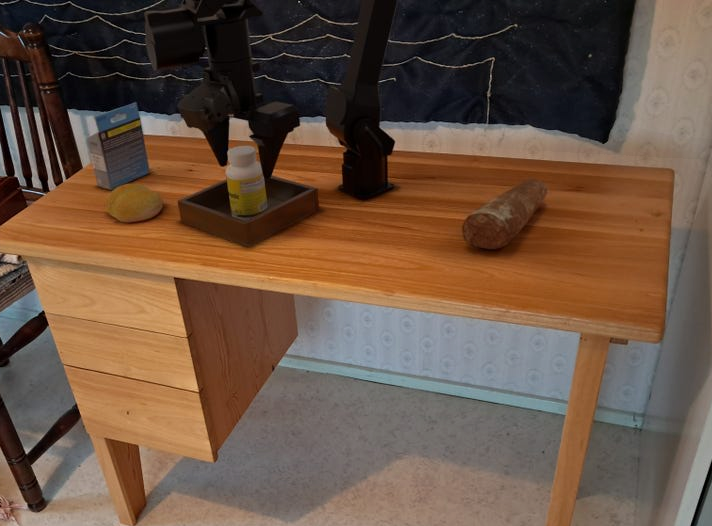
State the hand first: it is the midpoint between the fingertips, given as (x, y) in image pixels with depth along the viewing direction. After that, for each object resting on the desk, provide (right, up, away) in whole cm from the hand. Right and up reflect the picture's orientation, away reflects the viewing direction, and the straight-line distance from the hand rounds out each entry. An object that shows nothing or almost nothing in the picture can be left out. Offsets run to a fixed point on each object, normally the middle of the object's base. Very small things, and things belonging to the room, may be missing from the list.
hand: (245, 171), depth 106 cm
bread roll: (-18, -4, +9) cm, 20 cm away
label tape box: (-22, +4, +21) cm, 31 cm away
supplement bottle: (0, -6, +4) cm, 7 cm away
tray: (0, -6, +4) cm, 7 cm away
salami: (+36, -9, -5) cm, 37 cm away
